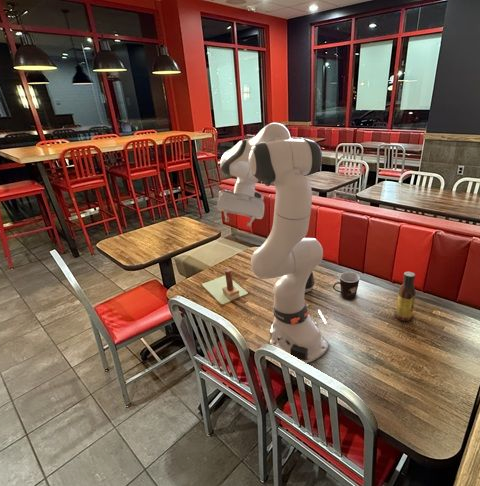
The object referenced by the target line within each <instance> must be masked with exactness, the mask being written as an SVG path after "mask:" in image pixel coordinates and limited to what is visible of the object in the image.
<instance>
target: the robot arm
mask: <svg viewBox="0 0 480 486" xmlns="http://www.w3.org/2000/svg"><path fill="white" fill-rule="evenodd" d="M219 163H220V165H219V168H220V170H221V171H222V173H223V174H224V175H227V176H233V177H236V182H235V184H234V187H233V190H228V189H221V190H220V191H219V192H218V195H217V196H218V200H217V203H216V209H217V210H218V211H219V212H223V215H224V218H225V219H224V222H225V223H229V221H230V217H229V216H228V213H229V214H235V215H237V216H238V215H240V216H244V217H247V218H250V221H247V222H246V227H249V228H251V225H252V223H253V222H254V221H255V220H256V219H257V220H262V219H263V218H264V215H265V202H264V199H265V195H264V194H262V193H261V192H259V191H257V190H256V184H258V183H260V182H261V183H263V184H264V186H266V187H270V186H271V185H272V184H273V186H274V188H275V199H274V209H273V218H272V219H273V221H272V227H271V230H270V232H269V235H268V236H267V238H266V239H265V241H264V242H263V243H262V245H260V246H259V247H258V248H257V249H256V250H254V251H253V253H252V254H251V258H250V267H251V271H252V272H253V274H254V275H255V276H256V277H257V278H259V280H260V279H261V280H269V279H277V278H278V280H277V281H276V282H275V283H274V286H273V305H272V311H273V321H272V325H271V328H270V333H271V339H269V340H270V341H269V345H270V344H271V345H275V346H277V347H279V348H281V349H283V350H285V351H286V352H288V353H290V354H291V355H293V356H295V357H297V358H298V359H300V360H302V361H304V362H306V363H305V364H308V363H311V362H314V361H315V360H318V359H319V358H320V357H321V356H323V355H324V354H325V353H326V352H327V350H328V348H329V344H328V342H327V341H326V340H325V339H324V338H323V337H322V334H321V331H320V330H319V323H318V322H317V321H313V319H312V318H311V315H310V310H309V311H308V308H307V307H308V306H307V305H306V302H305V296H306V295H305V294H306V293H305V286H306V283H307V280H308V278H309V276H310V274H311V273H312V272H313V271H314V270H315V269H316V268H317V266H318V265H320V264H321V262H323V258H324V249H323V246H322V244H321V243H320V242H319V240H318V239H316V238H315V237H306V236H307V235H308V232H309V226H310V220H311V214H312V206H313V205H312V203H313V189H312V184H311V181H310V179H309V178H308V176H311V175H314V174H316V173H318V171H319V170H320V169H321V166H322V163H323V153H322V149H321V146H320V145H319V144H318V143H317V142H316V141H315V140H312V139H309V138H304V137H301V136H299V137H298V138H291V134H290V131H289V129H288V128H287V126H285V125H284V124H282V123H279V122H271V123H269V124H266V125H265V126H264V127H263V128H262V129H260V130H259V132H258V133H257V134H256V136H255V135H254V136H253V137H250V138H246V139H241V140H239V141H238V142H237V143H236V144H235V145H234V146H232V147H231V148H229V149H227V150H226V151H224V153H223V154H222V155H221V158H220V162H219ZM318 314H319V315H320V317H321V319H322V322H324V324H327V321H326V318H325V317H324V315H323V314H322V312H321V310H320V309H318Z"/></svg>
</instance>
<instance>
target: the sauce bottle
mask: <svg viewBox="0 0 480 486" xmlns="http://www.w3.org/2000/svg"><path fill="white" fill-rule="evenodd" d="M415 279H416V274H415V272H412V271H405V272H404V273H403V281H402V284H401V285H400V287H399V289H398V294H397V301H396V309H395V317H396V318H397V319H398V320H400V321H402V322H409V321H411V320H412V318H413V314H414V310H415V309H414V308H415V302H416V294H417V291H416V288H415Z"/></svg>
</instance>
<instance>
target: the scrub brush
mask: <svg viewBox="0 0 480 486" xmlns="http://www.w3.org/2000/svg"><path fill="white" fill-rule="evenodd" d="M224 275H225V276H226V283H227V286H226V287H223V288H222V290H223V294H224V295H225V296H226V297H227V298H228V299H229V300H232V299H234V298H236V297H238V298H240V297H239V290H238V289H237V288H235V287H234V286H233V281H234V280H233V274H232V269H231V268H227V269H225V270H224ZM232 280H233V281H232ZM236 299H237V298H236ZM234 300H235V299H234ZM232 301H233V300H232Z"/></svg>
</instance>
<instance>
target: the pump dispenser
mask: <svg viewBox="0 0 480 486" xmlns="http://www.w3.org/2000/svg"><path fill="white" fill-rule="evenodd" d="M314 286H315V277H314V272H313V271H312V273H311V274H310V276H309V278H308V280H307V283H306V286H305V294H306V293H309V292H310V291H312V290H313V288H314Z"/></svg>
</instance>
